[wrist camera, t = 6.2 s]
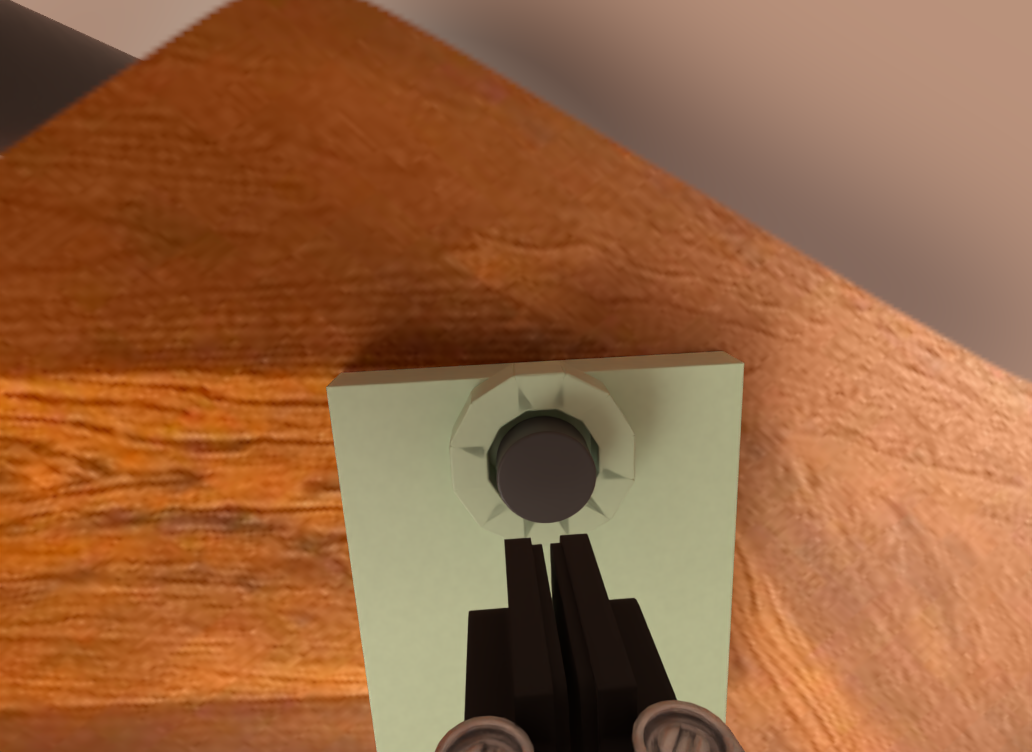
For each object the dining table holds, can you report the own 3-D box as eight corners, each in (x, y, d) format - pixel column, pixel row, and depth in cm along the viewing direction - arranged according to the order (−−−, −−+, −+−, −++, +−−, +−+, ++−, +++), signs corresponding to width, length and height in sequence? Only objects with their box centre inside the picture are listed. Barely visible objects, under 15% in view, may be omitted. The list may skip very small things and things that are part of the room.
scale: (338, 360, 21) (308, 386, 18) (724, 338, 21) (767, 360, 18) (387, 730, 25) (370, 808, 22) (708, 707, 26) (741, 781, 22)
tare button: (493, 417, 19) (493, 435, 17) (588, 412, 19) (596, 428, 17) (499, 503, 19) (499, 527, 18) (589, 498, 19) (597, 521, 18)
